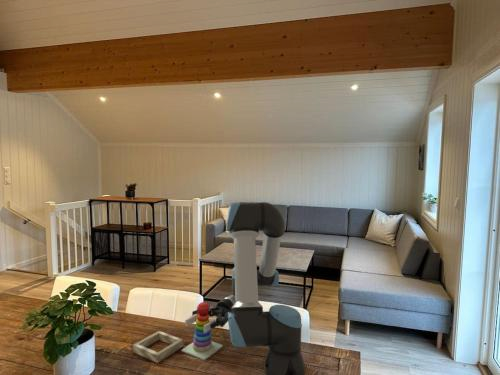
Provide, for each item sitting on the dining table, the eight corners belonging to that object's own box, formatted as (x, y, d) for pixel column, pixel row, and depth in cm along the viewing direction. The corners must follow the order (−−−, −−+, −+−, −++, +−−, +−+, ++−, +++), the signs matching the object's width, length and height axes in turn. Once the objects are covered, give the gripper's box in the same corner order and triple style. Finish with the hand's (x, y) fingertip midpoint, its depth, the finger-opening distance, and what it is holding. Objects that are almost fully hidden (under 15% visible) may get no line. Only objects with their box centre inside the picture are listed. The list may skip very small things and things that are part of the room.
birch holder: (182, 346, 143) (182, 339, 143) (157, 362, 131) (157, 355, 131) (159, 337, 150) (158, 330, 150) (132, 352, 139) (132, 344, 138)
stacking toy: (208, 353, 137) (208, 307, 136) (189, 351, 139) (189, 306, 137) (214, 343, 145) (214, 300, 143) (196, 341, 146) (196, 298, 145)
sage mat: (222, 346, 143) (222, 345, 143) (204, 360, 133) (204, 358, 133) (200, 338, 150) (200, 337, 150) (181, 351, 140) (181, 349, 139)
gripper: (247, 320, 150) (216, 343, 131) (209, 309, 162) (175, 328, 143) (248, 303, 150) (216, 324, 131) (209, 293, 161) (175, 310, 142)
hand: (195, 326), depth 137 cm, fingers open, 9 cm apart
